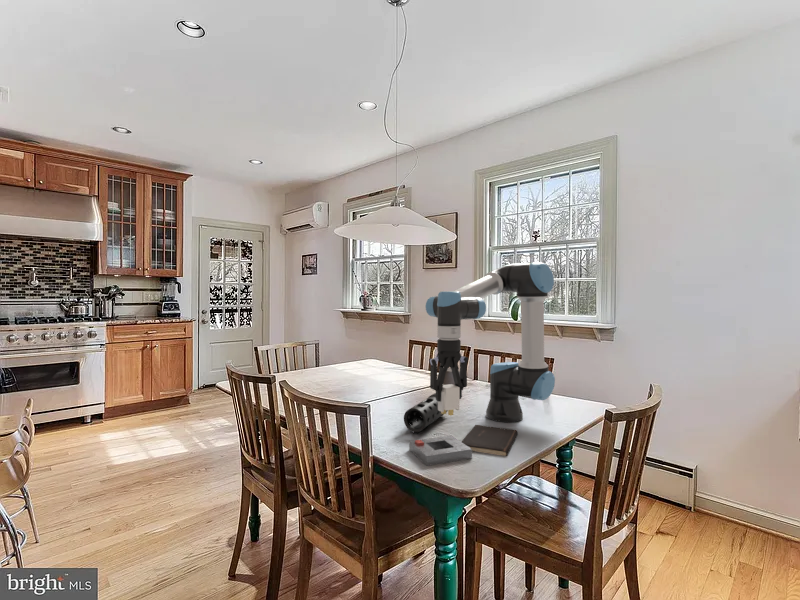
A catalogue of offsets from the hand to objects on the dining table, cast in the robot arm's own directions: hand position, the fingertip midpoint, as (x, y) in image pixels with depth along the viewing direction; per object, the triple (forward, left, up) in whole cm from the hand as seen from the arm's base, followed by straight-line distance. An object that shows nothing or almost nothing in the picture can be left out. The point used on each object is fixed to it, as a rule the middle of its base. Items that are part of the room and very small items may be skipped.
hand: (448, 409), depth 141 cm
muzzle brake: (-8, -32, -15) cm, 36 cm away
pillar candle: (-39, -69, -15) cm, 81 cm away
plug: (0, 0, -1) cm, 1 cm away
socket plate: (+2, -2, -15) cm, 15 cm away
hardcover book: (-20, -6, -16) cm, 26 cm away
